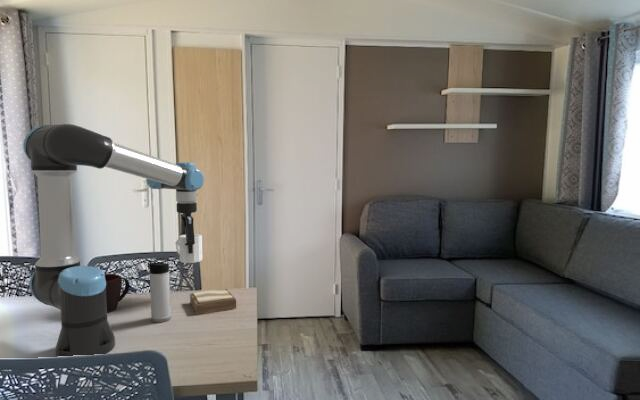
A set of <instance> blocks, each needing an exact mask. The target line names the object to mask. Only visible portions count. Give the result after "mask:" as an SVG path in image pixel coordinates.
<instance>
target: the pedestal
mask: <svg viewBox="0 0 640 400" xmlns="http://www.w3.org/2000/svg"><path fill="white" fill-rule="evenodd" d="M189 302H190V304H192V305H191V306H192V308H193V310H194V311H196V312H195V313H196V315H197V316H198V314H199V315H204V314H203V313H205V314H211V313H210V312H212V313H217V312H216V311H218V312H223V311H222V310H225V311H229V310H228V309H231V310H234V309H233V308H236V309H237V299H236V297H235V296H234V295H233V294H232V293H231V292H230V291H229V290H228V289H227V288H221V289H219V288H218V289H211V290H205V291H197V292H192V293H189Z"/></svg>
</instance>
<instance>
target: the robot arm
mask: <svg viewBox="0 0 640 400" xmlns="http://www.w3.org/2000/svg"><path fill="white" fill-rule="evenodd" d="M22 145H23V147H22V148H23V152H24V153H25V156H26V157H27V158H28V159H29V161H30V166H31V167H30V169H31V170H30V171H31V172H32V174H34V175H35V176H36V177H37V187H38V190H37V191H38V192H37V193H38V211H39V212H38V214H39V236H40V237H39V239H40V241H39V242H40V258H39V259H38V260H37V261H36V262H35V265H34V269H35V270H34V272H33V274H32V275H31V276H30V280H29V284H28V285H29V286H28V287H29V290H30V293H31V295H32V296H33V297H34V298H35V299H36V300H37V301H39V302H40V303H42V304H43V305H47V306H50V307H53V308H56V309H59V310H60V321H61V322H60V323H61V328H60V332H59V335H58V338H57V342H56V345H55V356H73V355H94V354H103V355H106V354H107V353H109V352H110V351H112V350H113V349H114V348H115V346H116V337H115V335H114V332H113V329H112V328H111V324H110V323H109V321H108V313H107V303H106V280H105V272H104V271H103V270H102V269H100V267H96V266H91V265H89V266H86V265H81V259H80V258H79V257H78V256H77V255H75V248H74V247H75V243H74V217H73V215H74V214H73V183H72V178H73V176H74V175H75V174H76V173H77V172H78V166H85V167H86V166H87V167H92V168H96V169H99V170H100V169H104V168H108V169H111V170H115V171H118V172H122V173H126V174H129V175H133V176H136V177H139V178H144V179H145V180H146V184H147V185H148V187H149V188H150V189H152V190H162V189H166V190H167V189H168V190H175V200H176V202H177V203H176V213H179V214H180V236H181V235H186V241H187V243H185V245H186V260H187V262H192V261H194V244H195V240H194V234H195V228H194V217H193V216H192V213H197V211H198V209H197V205H198V204H197V196H198V195H199V194H198V193H197V190H200V189H201V188H202V187H203V185H204V183H205V177H204V176H205V175H204V174H203V172H202V171H201V170H199V169H196V164H195V163H194V162H187V161H186V162H176V163H173V162H170V161H167V160H164V159H161V158H159V157H156V156H154V155H153V156H152V155H151V154H148V153H144V152H141V151H139V150H136V149H133V148H130V147H128V146H124V145H122V144H118V143H115V142H114V141H113V139H112V138H111V137H109V136H107V135H106V136H105V135H103V134H100V133H97V132H95V131H94V130H93V131H92V130H90V129H87V128H85V127H82V126H79V125H76V124H75V125H74V124H71V123H62V124H44V125H41V126H38V127H34V128H33V129H31V130H30V131H29V132H28V133H27V134H26V136H25V137H24V140H23V144H22Z"/></svg>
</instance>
